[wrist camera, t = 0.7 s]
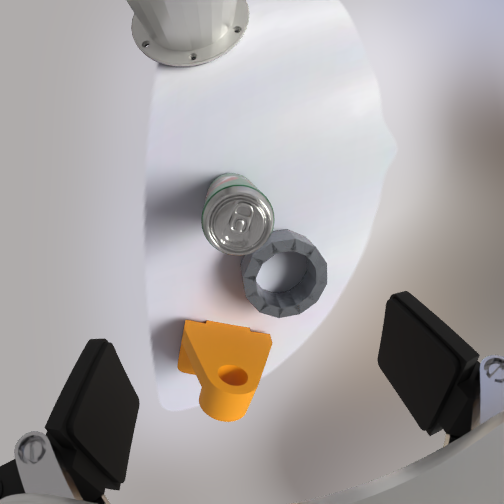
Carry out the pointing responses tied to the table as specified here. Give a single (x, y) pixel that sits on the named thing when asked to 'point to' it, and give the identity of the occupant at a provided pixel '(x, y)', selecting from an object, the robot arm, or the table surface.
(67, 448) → the robot arm
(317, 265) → the rosette ring
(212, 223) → the soda can
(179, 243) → the table surface
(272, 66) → the table surface
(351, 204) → the table surface
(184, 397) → the table surface
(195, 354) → the bracket
